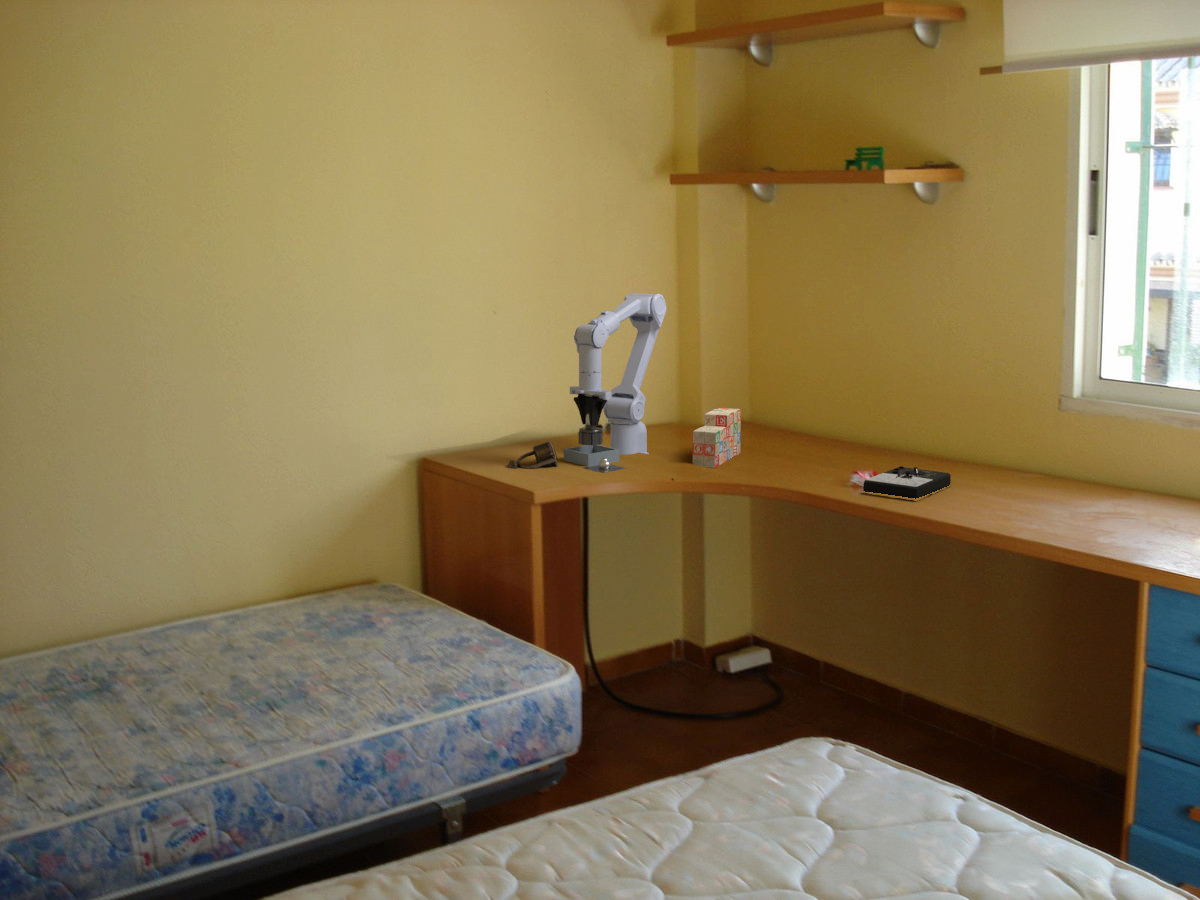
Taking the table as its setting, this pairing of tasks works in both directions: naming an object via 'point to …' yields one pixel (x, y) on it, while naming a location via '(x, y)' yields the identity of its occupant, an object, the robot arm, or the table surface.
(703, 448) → the stack of blocks
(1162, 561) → the table surface
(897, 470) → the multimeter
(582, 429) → the dark grey stepped cylinder
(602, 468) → the stud mount
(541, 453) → the dark brown handled cylinder
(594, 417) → the robot arm
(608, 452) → the bin
